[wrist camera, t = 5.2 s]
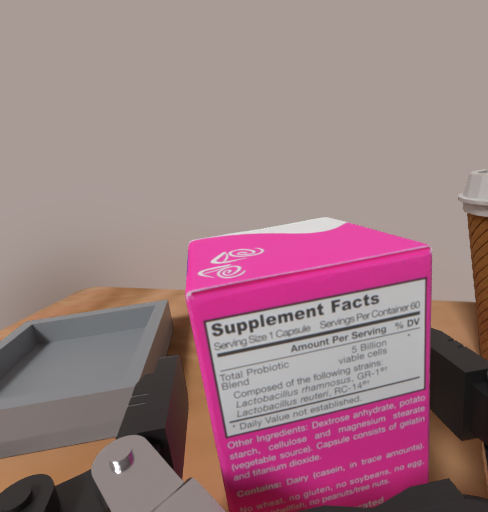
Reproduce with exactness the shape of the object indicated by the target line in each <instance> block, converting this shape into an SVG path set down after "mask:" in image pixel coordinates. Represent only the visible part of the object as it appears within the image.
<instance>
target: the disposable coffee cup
mask: <svg viewBox="0 0 488 512" xmlns="http://www.w3.org/2000/svg"><path fill="white" fill-rule="evenodd" d="M458 200H459V201H461V202H463V210H464V211H465V212H467V216H468V229H469V239H470V249H471V259H472V269H473V279H474V288H475V298H476V309H477V318H478V328H479V338H480V340H479V341H480V350H481V357H483V358H484V359H486V360H487V361H488V169H485V170H480V171H474V172H471V173H469V176H468V179H467V183H466V186H465V190H464V193H461V194H459V196H458Z"/></svg>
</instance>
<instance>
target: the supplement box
mask: <svg viewBox="0 0 488 512" xmlns="http://www.w3.org/2000/svg"><path fill="white" fill-rule="evenodd" d="M431 285H432V249H431V247H430V246H428V245H427V244H424V243H420V242H416V241H413V240H410V239H406V238H402V237H399V236H395V235H391V234H387V233H384V232H380V231H377V230H373V229H369V228H365V227H362V226H358V225H355V224H351V223H348V222H344V221H340V220H336V219H332V218H328V217H323V218H317V219H311V220H305V221H301V222H296V223H290V224H285V225H280V226H275V227H269V228H264V229H258V230H251V231H245V232H239V233H232V234H226V235H219V236H213V237H207V238H202V239H196V240H191V241H190V242H189V249H188V261H187V280H186V292H185V297H186V303H187V307H188V312H189V317H190V321H191V326H192V331H193V336H194V340H195V345H196V350H197V355H198V360H199V364H200V369H201V374H202V379H203V384H204V389H205V394H206V399H207V404H208V408H209V413H210V418H211V423H212V428H213V433H214V438H215V444H216V448H217V453H218V457H219V462H220V467H221V472H222V477H223V482H224V487H225V492H226V497H227V502H228V507H229V511H230V512H296V511H300V510H305V509H310V508H314V507H319V506H324V505H330V506H348V507H365V508H373V507H376V506H378V505H380V504H382V503H383V502H385V501H387V500H388V499H390V498H392V497H393V496H395V495H397V494H398V493H400V492H402V491H403V490H405V489H407V488H409V487H411V486H416V485H421V484H425V483H429V427H430V331H431V291H432V289H431V288H432V286H431Z"/></svg>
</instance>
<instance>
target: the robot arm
mask: <svg viewBox="0 0 488 512" xmlns="http://www.w3.org/2000/svg"><path fill="white" fill-rule="evenodd" d="M430 409H431V410H432V411H433V412H434V413H435V414H436V416H437V417H438V418H439V419H440V420H441V421H442V422H443V423H444V424H445V425H446V426H447V427H448V428H449V429H450V430H451V431H452V432H453V433H454V434H455V435H456V436H457V437H458V438H459V439H460V440H461V441H464V440H469V439H474V438H479V439H481V440H482V457H483V464H484V470H485V477H486V483H487V490H488V361H487V360H486V359H484V358H483V357H481V356H479V355H478V354H476V353H475V352H473V351H472V350H470V349H468V348H467V347H464V346H463V345H462V344H461V343H459V342H457V341H454V339H453V338H451V337H450V336H448V335H446V334H445V333H443V332H442V331H439V330H436V329H433V328H431V331H430ZM187 420H188V393H187V387H186V382H185V377H184V372H183V366H182V361H181V357H180V355H179V354H178V355H172V356H166V357H160V358H158V361H157V365H156V368H155V371H154V373H150V374H145V375H144V376H143V377H142V378H141V379H140V380H139V381H138V382H137V384H136V385H135V387H134V390H133V393H132V398H130V401H129V404H128V407H127V409H126V412H125V415H124V418H123V420H122V423H121V426H120V429H119V431H118V434H117V437H116V440H115V441H113V442H111V443H110V444H108V445H107V446H106V447H105V448H104V449H102V450H101V452H100V453H99V454H98V455H97V457H96V458H95V460H94V462H93V464H92V468H91V469H90V470H88V471H87V472H85V473H83V474H81V475H78V476H76V477H74V478H72V479H70V480H67V481H65V482H63V483H61V484H59V485H56V486H55V485H54V482H53V480H52V478H51V477H50V476H48V475H45V474H37V475H32V476H29V477H26V478H24V479H21V480H19V481H17V482H16V483H14V484H12V485H11V486H9V487H8V488H7V489H5V490H4V491H3V492H1V493H0V512H226V511H225V510H224V509H223V508H222V507H221V506H220V505H219V504H218V503H217V502H216V501H215V500H214V498H213V497H212V496H211V495H210V494H209V493H208V492H207V491H206V490H205V489H204V488H203V487H202V485H201V484H200V483H199V482H198V481H196V480H195V479H194V478H189V479H188V480H186V481H185V482H183V481H182V476H183V465H184V453H185V442H186V431H187ZM296 512H488V499H485V498H482V497H477V496H471V495H465V494H461V493H460V491H459V490H458V489H457V488H456V486H455V485H454V484H453V483H452V482H451V480H450V479H449V478H448V479H444V480H439V481H435V482H430V483H425V484H421V485H416V486H411V487H409V488H407V489H405V490H403V491H402V492H400V493H398V494H397V495H395V496H393V497H392V498H390V499H388V500H387V501H385V502H383V503H382V504H380V505H378V506H376V507H373V508H365V507H348V506H330V505H324V506H319V507H314V508H310V509H305V510H300V511H296Z"/></svg>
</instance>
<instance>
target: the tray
mask: <svg viewBox="0 0 488 512" xmlns="http://www.w3.org/2000/svg"><path fill="white" fill-rule="evenodd" d="M172 332H173V323H172V318H171V313H170V308H169V303H168V300H162V301H155V302H149V303H142V304H136V305H129V306H123V307H116V308H110V309H103V310H97V311H90V312H84V313H78V314H71V315H65V316H58V317H52V318H45V319H39V320H32V321H26V322H25V323H24V324H23V325H21V326H20V327H19V328H17V329H16V330H15V331H13V332H12V333H11V334H9V335H8V336H7V337H5V338H4V339H3V340H1V341H0V458H5V457H11V456H16V455H21V454H27V453H32V452H38V451H43V450H48V449H54V448H59V447H64V446H70V445H75V444H80V443H86V442H91V441H97V440H102V439H107V438H113V437H117V434H118V431H119V429H120V426H121V423H122V420H123V418H124V415H125V412H126V409H127V407H128V404H129V401H130V398H132V393H133V390H134V387H135V385H136V384H137V382H138V381H139V380H140V379H141V378H142V377H143V376H144V375H145V374H150V373H154V371H155V368H156V365H157V361H158V358H160V357H166V356H167V352H168V348H169V344H170V340H171V336H172Z"/></svg>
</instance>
